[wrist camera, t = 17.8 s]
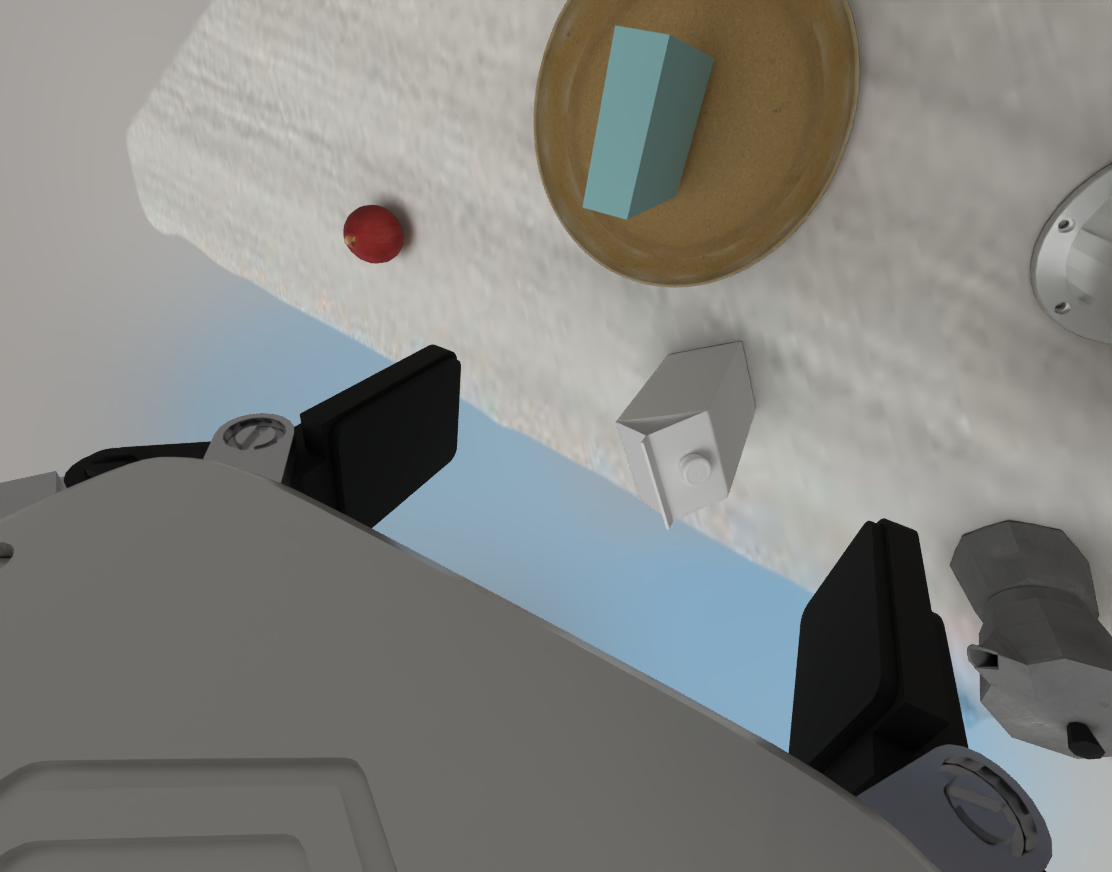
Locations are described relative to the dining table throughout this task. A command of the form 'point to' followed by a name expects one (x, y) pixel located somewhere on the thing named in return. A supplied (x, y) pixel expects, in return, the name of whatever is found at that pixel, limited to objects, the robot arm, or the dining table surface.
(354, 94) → the dining table surface
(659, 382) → the milk carton
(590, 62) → the plant saucer
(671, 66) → the teal board
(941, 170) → the dining table surface
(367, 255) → the onion
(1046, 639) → the coffeepot
